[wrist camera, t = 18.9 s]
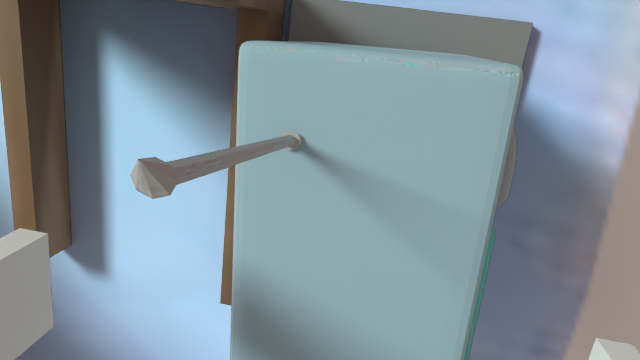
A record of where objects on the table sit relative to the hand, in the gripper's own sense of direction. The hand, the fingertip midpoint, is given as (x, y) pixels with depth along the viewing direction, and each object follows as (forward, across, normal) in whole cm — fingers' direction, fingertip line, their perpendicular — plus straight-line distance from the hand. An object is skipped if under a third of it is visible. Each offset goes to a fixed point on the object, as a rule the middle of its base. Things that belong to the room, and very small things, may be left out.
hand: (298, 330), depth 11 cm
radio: (+16, +2, -1) cm, 16 cm away
